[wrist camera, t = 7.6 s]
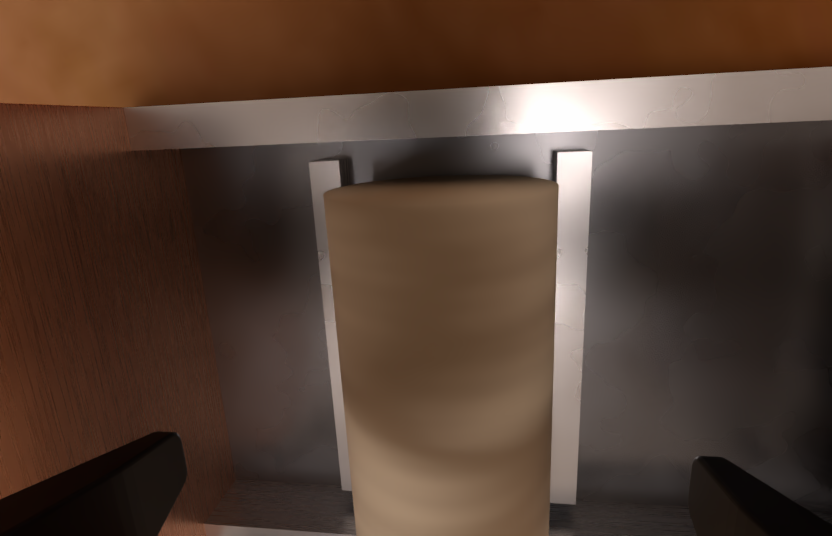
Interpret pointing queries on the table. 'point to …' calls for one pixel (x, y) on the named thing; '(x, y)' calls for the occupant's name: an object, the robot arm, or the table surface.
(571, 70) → the table surface
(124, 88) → the table surface
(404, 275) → the roller
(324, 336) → the grey rectangular tray
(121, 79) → the table surface
